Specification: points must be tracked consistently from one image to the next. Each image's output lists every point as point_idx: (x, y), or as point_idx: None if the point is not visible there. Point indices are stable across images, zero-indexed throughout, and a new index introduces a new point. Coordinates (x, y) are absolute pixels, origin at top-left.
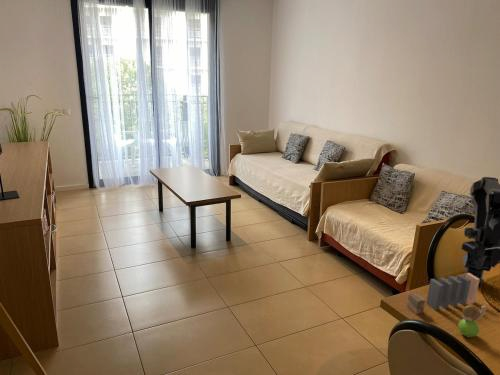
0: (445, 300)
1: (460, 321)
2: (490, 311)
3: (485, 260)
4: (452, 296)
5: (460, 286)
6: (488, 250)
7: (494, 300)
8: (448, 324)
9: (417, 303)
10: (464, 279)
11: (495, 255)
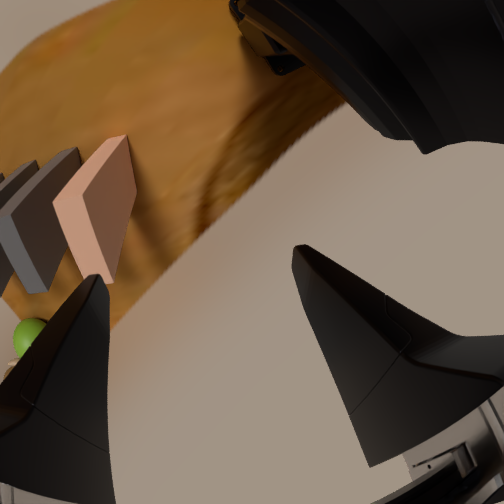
0: None
1: (13, 342)
2: (166, 248)
3: (374, 107)
4: None
5: (7, 278)
6: (495, 118)
7: (250, 184)
8: (6, 288)
9: None
10: (18, 272)
11: (364, 364)
